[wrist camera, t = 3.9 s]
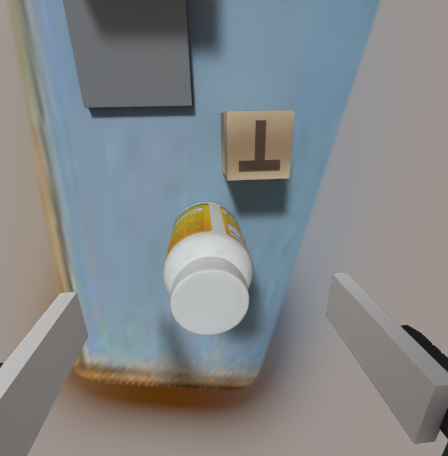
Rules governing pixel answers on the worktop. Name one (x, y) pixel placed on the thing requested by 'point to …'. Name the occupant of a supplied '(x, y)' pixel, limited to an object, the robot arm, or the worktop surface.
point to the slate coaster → (130, 52)
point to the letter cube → (256, 144)
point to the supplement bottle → (208, 270)
